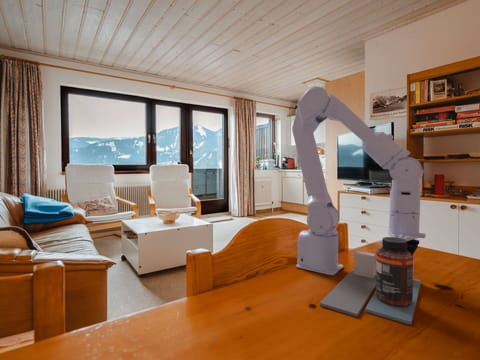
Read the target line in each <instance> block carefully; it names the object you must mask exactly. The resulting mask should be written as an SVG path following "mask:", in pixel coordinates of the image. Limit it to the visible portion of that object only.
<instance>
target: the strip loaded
mask: <svg viewBox="0 0 480 360" xmlns="http://www.w3.org/2000/svg"><path fill="white" fill-rule="evenodd" d="M414 265H415V257H414V256H413V272H414V267H415V266H414ZM421 284H422V280H420V279H415V278H413V298H412V303H411V304H410V305H408V306H394V305H390V304H387V303H385V302H382V301H381V300H379V299H378V298H377V296H376V290H374V293H373V295H372V297H371V298H370V300H369V302H368V304H367V305H365V306H366V307H365V308H364V312H365V313H369V314H372V315H375V316H379V317H383V318H385V319H389V320H393V321H396V322H400V323H403V324H407V325H410V326H411V325H412V324H413V320H414V314H415V310H416V306H417V302H418V297H419V293H420V288H421Z"/></svg>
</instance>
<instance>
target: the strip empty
mask: <svg viewBox="0 0 480 360" xmlns="http://www.w3.org/2000/svg"><path fill="white" fill-rule="evenodd" d="M376 256H377V253H372V252H366V251H360V250H356V251H355V252H354V263H353V264H354V266H353V267H354V268H353V269H351V270H350V271H349V272H348V273H347V274H346V275H345V276H344V277H343V278H342V279H341V280H340V281H339V282H338V283H337V285H335V286H334V288H332V290H330V292H329V293H327V294H326V295H325V297H324V298H322V300H320V302H319V306H320V307H324V308H327V309H330V310H333V311H337V312H339V313H343V314H347V315H350V316H353V317H357V318H358V316H359V315H360V314H361V312H362V310H363V309H364V307H365V306H366V304H367V302H368V300H369V299H370V297H371V295H372V294H373V292H375V290H376Z"/></svg>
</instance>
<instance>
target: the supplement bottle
mask: <svg viewBox="0 0 480 360" xmlns="http://www.w3.org/2000/svg"><path fill="white" fill-rule="evenodd" d="M381 245H382V247H380V248H378V249H377V251H376V258H375V275H376V288H375V291H376V296H377V298H378V299H379V300H381V301H382V302H385V303H387V304H390V305H394V306H408V305H410V304H411V303H412V298H413V279H414V271H413V257H414V255H413V256H412V254H411V253H410V252H408V250H407V240H405V239H402V238H396V237H391V236H386V237H382V243H381Z"/></svg>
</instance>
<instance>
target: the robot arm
mask: <svg viewBox="0 0 480 360" xmlns="http://www.w3.org/2000/svg"><path fill="white" fill-rule="evenodd" d="M327 119H329V121H336V122H340V123H341V124H342V125H344V126H345V127H346V129H348V130H349V131H350V132H352V133H353V135H355V136H356V137H357V138H359V139H360V140H361V141H362V143H363V152H365V153H366V155H368V156H369V157H370V158H371V159H373V161H374V162H375V163H376V164H378V165H379V166H380V167H381V168H382V169H383V170H388V171H389V176H390V177H391V178H392V179H391V189H390V191H389V217H388V218H389V220H388V221H389V222H388V230H387V235H389V237H396V238H402V239H405V240H407V250H408V252H410V253H411V254H412V256H413V257H414V254H415V252H416V251H417V249H418V246H419V245H420V240H419V239H425V238H427V237H426V236H427V235H426V233H421V232H420V215H421V191H420V188H421V182H420V179H421V180H422V176H423V175H424V171H425V170H424V169H423V166H422V164H421V162H420V161H419V160H417V159H416V158H414V157H411V156H409V155H410V154H411V151H409V149H406V150H405V149H404V148H403V147H401V146H400V145H399V144H398V143H397V142H396V141H394V136H393V135H392V134H391V133H388V134H387V133H386V132H385V131H374V130H373V129H372V128H370V127H369V126H368V125H367V124H366V123H365V122H364V121H363V120H362V118H360V117H359V116H358V115H357V114H356V113H355V112H353V110H352V109H350V107H349V106H347V105H346V104H345V103H344V101H341V100H340V99H339V98H337V97H336V96H334V95H333V94H331V93H329V94H328V92H327V90H326V89H325V88H323V86H322V87H321V86H318V85H317V86H311V87H310V88H307V89H306V90H305V91H304V93H303V94H302V95H301V96H300V98H299V99H298V100H297V109H296V113H295V116H294V120H293V124H292V128H291V129H292V134H293V135H292V136H293V139H294V143H295V147H296V148H295V149H296V152H297V156H298V160H299V165H300V170H301V173H302V177H303V181H304V186H305V189H306V194H307V202H306V207H307V216H306V223H307V227H308V230H306V229H305V230H304V229H303V230H301V231H300V232H299V234H298V238H297V251H296V252H297V255H296V256H297V257H296V258H297V260H296V261H297V262H296V263H297V264H295V267H296V268H298V269H302V270H307V271H311V272H315V273H319V274H324V275H328V276H335V275H336V274H337V273H338V272H340V270H341V269H342V268H344V264H340V263H339V262H338V261H339V233H340V232H339V230H338V229H337V228H336V226H337V225H338V224H339V221H340V213H339V210H338V209H337V207H336V206H334V204H333V200H332V197H331V196H330V194H329V191H328V188H327V187H328V186H327V183H326V179H325V174H324V171H323V167H322V163H321V158H320V155H319V151H318V147H317V142H316V138H315V134H314V133H315V131H316V130H317V129H318V127H319V126H320V125H321V124H322V123H323V122H324V121H325V120H327Z"/></svg>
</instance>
